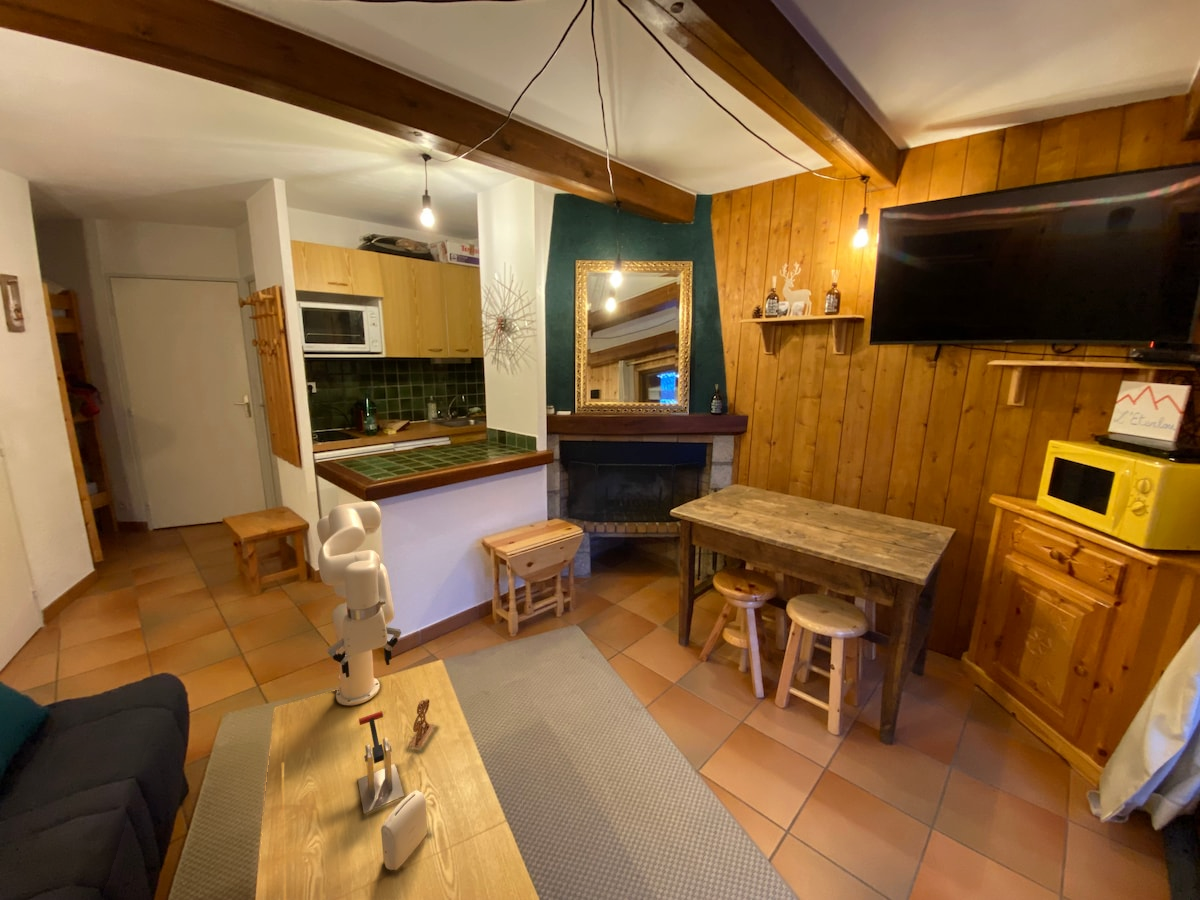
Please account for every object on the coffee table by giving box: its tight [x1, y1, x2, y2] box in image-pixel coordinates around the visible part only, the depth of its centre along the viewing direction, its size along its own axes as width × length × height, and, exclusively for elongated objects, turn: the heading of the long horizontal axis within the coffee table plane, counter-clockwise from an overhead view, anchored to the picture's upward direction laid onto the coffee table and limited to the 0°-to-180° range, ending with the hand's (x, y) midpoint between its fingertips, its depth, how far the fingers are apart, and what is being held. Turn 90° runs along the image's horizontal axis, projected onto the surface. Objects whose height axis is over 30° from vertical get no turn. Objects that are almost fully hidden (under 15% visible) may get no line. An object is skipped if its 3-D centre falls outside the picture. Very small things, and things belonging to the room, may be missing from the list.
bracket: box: [357, 737, 405, 815], centre depth 119 cm, size 11×9×13 cm
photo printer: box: [380, 789, 428, 871], centre depth 105 cm, size 10×4×12 cm, turn 156°
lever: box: [358, 710, 384, 765], centre depth 121 cm, size 12×6×2 cm, turn 34°
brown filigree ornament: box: [408, 698, 436, 749], centre depth 136 cm, size 9×4×12 cm, turn 171°
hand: (367, 668), depth 126 cm, fingers open, 9 cm apart
